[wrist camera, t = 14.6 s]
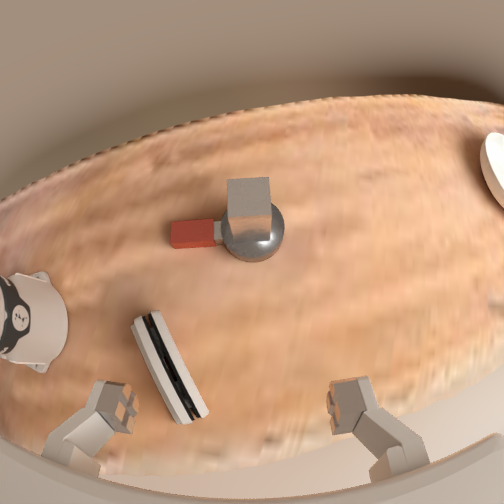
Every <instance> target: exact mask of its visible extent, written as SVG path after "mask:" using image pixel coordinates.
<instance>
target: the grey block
mask: <svg viewBox="0 0 504 504" xmlns="http://www.w3.org/2000/svg"><path fill="white" fill-rule="evenodd" d="M227 207H228V220H229V224H230V227H231V231H232V234H233V238H234V241H235V243H245V242H262V241H270V233H271V220H272V210H271V198H270V187H269V177H259V178H242V179H228V180H227Z"/></svg>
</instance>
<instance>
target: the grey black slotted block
mask: <svg viewBox="0 0 504 504" xmlns="http://www.w3.org/2000/svg"><path fill="white" fill-rule="evenodd" d="M148 317H149V320H150V322H151V325H152V328H150V327H149V325H148V323H147V320H146V318H145V316H143V317H142V316H141V315H140V316H139V317H137V318H136V319H134V324H133V325H132V326H130V327H131V330H132V332H133V335H134V337H135V339H136V342H137V344H138V347H139V349H140V351H141V353H142V356H143V358H144V360H145V362H146V365H147V367H148V369H149V371H150V373H151V375H152V378H153V380H154V382H155V384H156V386H157V388H158V390H159V392H160V394H161V396H162V398H163V400H164V402H165V404H166V405H167V407H168V409H169V411H170V413H171V415H172V417H173V418H174V420H175V422H176V424H183V425H185V424H190V423H193V422H192V421H193V420H195V419H194V418H193V416H192V414H191V412H190V410H189V408H192V410H193V411H194V413H195V415H196V417H197V418H199V417H200V418H204V417H205V416H206V415H208V414H209V411H208V409H207V407H206V405H205V403H204V402H203V400H202V398H201V396H200V394H199V392H198V390H197V388H196V386H195V384H194V382H193V380H192V378H191V376H190V374H189V372H188V370H187V368H186V366H185V364H184V362H183V360H182V358H181V355H180V353H179V351H178V349H177V347H176V345H175V343H174V341H173V339H172V337H171V334H170V332H169V330H168V328H167V326H166V324H165V321H164V319H163V317H162V315H161V313H160V311H159V310H157V311H151V312H150V314H148ZM163 356H166V357H167V359H168V361H169V363H170V365H171V367H172V370H173V372H174V374H175V376H176V378H177V380H178V381H177V382H174V380H173V378H172V376H171V374H170V372H169V369H168V367H167V365H166V363H165V361H164V359H163Z"/></svg>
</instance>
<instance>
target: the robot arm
mask: <svg viewBox="0 0 504 504" xmlns="http://www.w3.org/2000/svg"><path fill="white" fill-rule="evenodd" d="M67 332H68V317H67V311H66V307H65V304H64V301H63V299H62V297H61V295H60V294H59V292H58V291H57V290H56V289H55V288H54V287H53V286H52V284H51V282H50V279H49V276H48V274H47V273H46V272H43V271H40V272H37V273H34V274H31V275H28V276H27V275H24V274H20V273H15V275H11V276H9V277H8V278H5V277H3V276H1V275H0V357H1V358H3V359H8V361H9V362H13V363H17V364H25V365H26V366H28V367H30V368H32V369H33V370H35V371H37V372H39V373H45V372H46V371H47V369H48V367H49V365H50V363H51V361H52V360H54V359H55V358H56V357H57V356H58V355H59V354H60V352H61V351H62V349H63V347H64V345H65V342H66V338H67ZM329 388H330V391H329V392H328V393H327V410H328V413H329V414H330V415H331V416H332V417H331V420H330V425H331V430H332V435H337V434H344V433H350V432H353V434H354V435H355V436H356V437H357V438H358V439H359V440H360V442H362V443H363V445H364V446H365V447H366V448H367V449H368V450H369V451H370V452H371V453H372V454H373V455H374V456H375V457H376V458H377V459H378V461H377V462H376V463H375V464H374V465H373V466H372V467H371V468H370V470H369V474H370V479H371V483H369V484H365V485H360V486H356V487H351V488H347V489H342V490H336V491H331V492H325V493H318V494H311V495H303V496H294V497H282V498H265V499H223V498H205V497H194V496H185V495H177V494H169V493H163V492H157V491H151V490H146V489H141V488H137V487H132V486H127V485H124V484H119V483H116V482H112V481H108V480H105V479H101V478H98V475H99V471H100V467H101V466H100V464H99V463H98V462H96V461H95V460H94V459H92V457H93V456H94V455H95V454H96V453H97V452H98V451H99V450H100V449H101V448H102V447H103V446H104V445H105V443H106V442H107V441H108V440H109V439H110V438H111V437H112V436H113V435H114V434H115V432H121V433H127V434H132V433H133V429H134V425H135V420H134V418H133V417H134V416H135V415H136V414H137V413H138V409H139V401H138V397H137V396H136V394H135V393H133V392H132V391H131V390H132V388H131V386H130V385H129V384H126V383H118V382H111V381H105V380H97V381H96V382H95V383H94V386H93V388H92V390H91V393H90V395H89V398H88V400H87V403H86V406H85V408H81V409H80V410H79V411H77V412H76V413H75V414H74V415H72V416H71V417H70V418H68V419H67V420H66V421H65V422H63V423H62V424H61V425H60V426H58V427H57V428H56V429H54V430H53V431H52V432H51V433H49V436H48V438H47V441H46V444H45V446H44V449H43V452H42V455H41V456H40V455H38V454H36V453H34V452H31V451H29V450H27V449H25V448H23V447H21V446H19V445H18V444H16V443H14V442H12V441H10V440H8V439H7V438H5V437H3V436H1V435H0V504H504V436H503V435H501V434H499V433H493V434H490V435H488V436H487V437H485V438H483V439H481V440H479V441H477V442H476V443H474V444H472V445H470V446H468V447H466V448H464V449H462V450H460V451H458V452H455V453H453V454H451V455H449V456H447V457H445V458H442V459H440V460H437V461H435V462H433V463H430V461H429V458H428V455H427V452H426V449H425V446H424V443H423V441H422V437H420V436H419V435H418V434H416V433H415V432H414V431H412V430H411V429H410V428H409V427H407V426H406V425H405V424H403V423H402V422H401V421H399V420H398V419H397V418H395V417H394V416H393V415H392V414H390V413H389V412H388V411H386V410H385V409H384V408H379V405H378V402H377V399H376V396H375V393H374V390H373V387H372V385H371V382H370V379H369V377H368V376H361V377H356V378H355V377H354V378H348V379H343V380H336V381H331V382H330V385H329Z"/></svg>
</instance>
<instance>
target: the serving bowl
mask: <svg viewBox="0 0 504 504" xmlns="http://www.w3.org/2000/svg"><path fill="white" fill-rule="evenodd" d="M480 163H481V168H482V172H483V175H484V178H485V181H486V183H487V185H488V187H489V189H490V191H491V192H492V194H493V196H494V197H495V198H496V200H497V201H498V202H499V204H500V205H501V206H502V207H503V208H504V135H502V134H500V133H497V132H491V133H489V134H488V135H487V136H486V138H485V139H484V141H483V143H482V146H481V150H480Z"/></svg>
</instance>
